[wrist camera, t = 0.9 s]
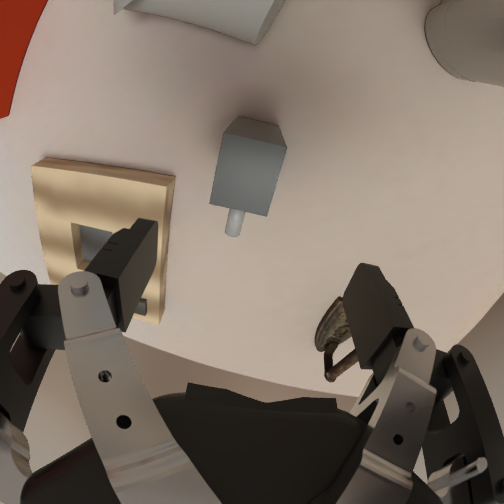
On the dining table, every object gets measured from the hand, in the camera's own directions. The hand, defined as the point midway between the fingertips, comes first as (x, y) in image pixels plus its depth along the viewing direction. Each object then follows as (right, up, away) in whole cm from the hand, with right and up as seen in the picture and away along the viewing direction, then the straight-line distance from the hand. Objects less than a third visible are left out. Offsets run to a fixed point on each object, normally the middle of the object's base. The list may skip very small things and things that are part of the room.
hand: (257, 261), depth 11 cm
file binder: (-31, +26, +7) cm, 41 cm away
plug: (-1, +10, +16) cm, 19 cm away
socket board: (-19, +2, +22) cm, 29 cm away
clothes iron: (+12, -11, +29) cm, 33 cm away
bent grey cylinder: (-6, +28, +4) cm, 29 cm away
